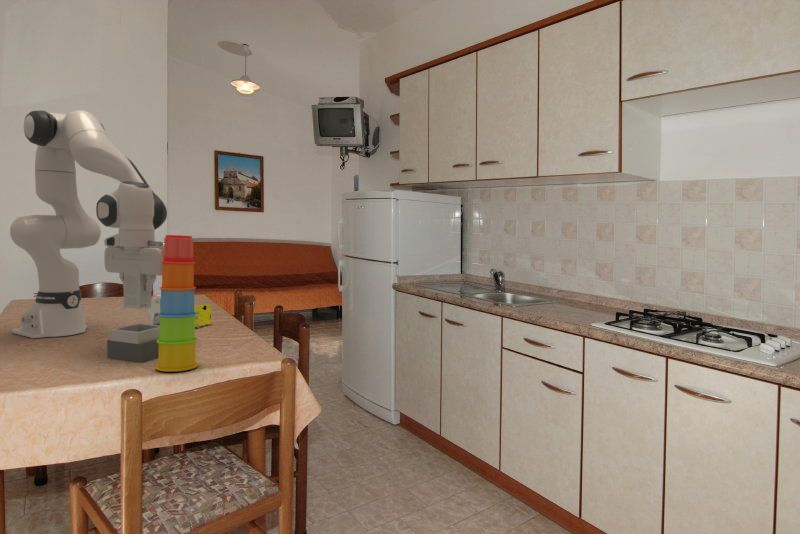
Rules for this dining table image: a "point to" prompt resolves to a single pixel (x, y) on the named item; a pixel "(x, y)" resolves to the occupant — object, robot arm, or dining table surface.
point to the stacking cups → (177, 306)
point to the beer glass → (154, 310)
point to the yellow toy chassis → (203, 315)
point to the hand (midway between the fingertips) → (137, 290)
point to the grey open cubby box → (134, 342)
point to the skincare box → (135, 288)
